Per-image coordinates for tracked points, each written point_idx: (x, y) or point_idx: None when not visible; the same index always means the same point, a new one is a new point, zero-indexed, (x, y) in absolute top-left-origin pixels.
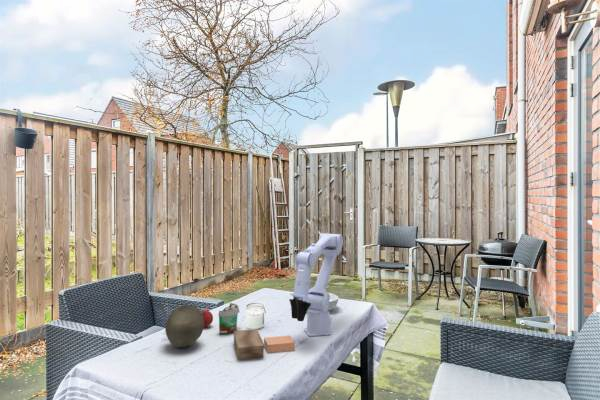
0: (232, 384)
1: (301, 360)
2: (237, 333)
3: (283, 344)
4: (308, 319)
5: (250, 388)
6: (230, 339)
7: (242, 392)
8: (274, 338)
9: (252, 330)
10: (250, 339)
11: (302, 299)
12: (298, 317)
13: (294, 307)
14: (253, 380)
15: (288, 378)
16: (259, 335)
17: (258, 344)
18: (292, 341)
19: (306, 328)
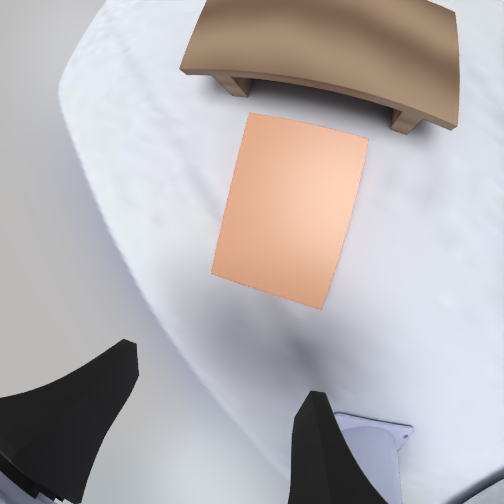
0: (128, 3)
1: (137, 237)
2: (413, 5)
3: (227, 207)
4: (367, 473)
5: (92, 41)
6: (482, 60)
7: (92, 27)
8: (325, 192)
9: (442, 87)
10: (293, 21)
11: (29, 496)
12: (104, 355)
13: (311, 485)
14: (112, 46)
15: (75, 140)
16: (338, 81)
17: (205, 43)
18: (229, 271)
19: (406, 438)
